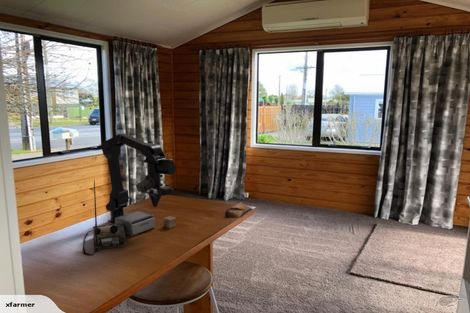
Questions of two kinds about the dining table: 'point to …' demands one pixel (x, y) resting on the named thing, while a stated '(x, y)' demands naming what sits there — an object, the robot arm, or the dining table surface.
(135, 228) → the tray
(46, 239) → the dining table surface
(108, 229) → the radio
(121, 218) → the grey drawer cabinet
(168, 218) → the walnut block
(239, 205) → the sunglasses case
